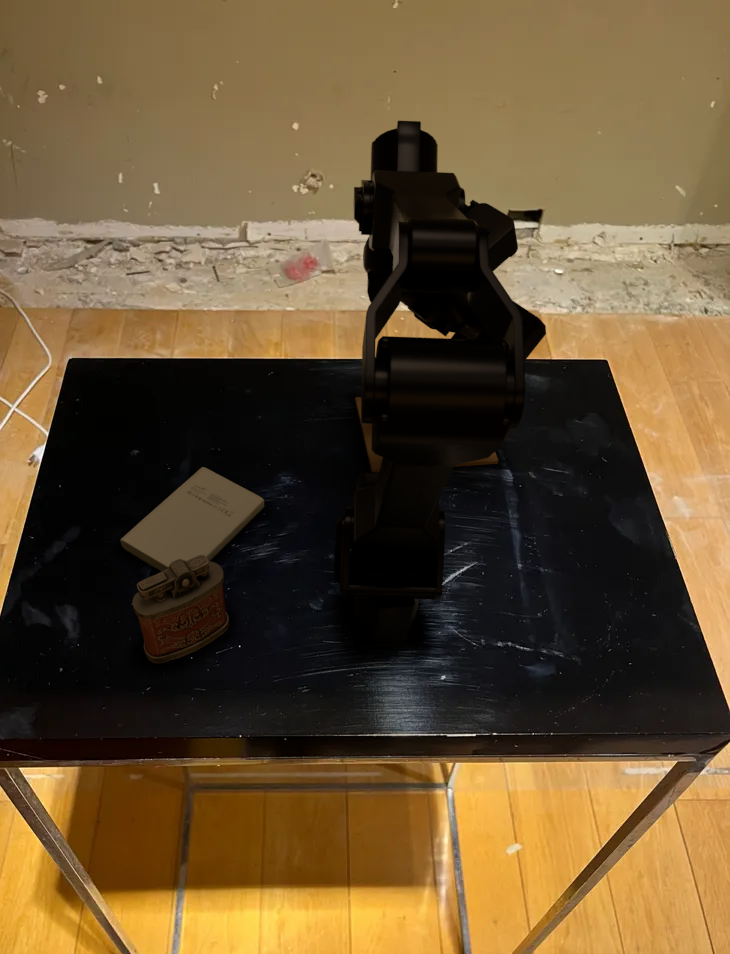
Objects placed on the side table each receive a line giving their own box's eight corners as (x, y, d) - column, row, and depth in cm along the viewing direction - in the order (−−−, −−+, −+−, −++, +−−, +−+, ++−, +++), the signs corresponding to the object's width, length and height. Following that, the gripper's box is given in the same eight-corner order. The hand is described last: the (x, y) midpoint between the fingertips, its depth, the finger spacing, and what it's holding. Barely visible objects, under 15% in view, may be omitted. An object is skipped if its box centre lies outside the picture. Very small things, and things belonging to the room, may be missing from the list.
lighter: (218, 605, 77) (209, 535, 69) (235, 630, 75) (228, 562, 68) (138, 643, 74) (120, 575, 66) (154, 671, 72) (138, 604, 65)
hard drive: (122, 549, 81) (203, 475, 88) (186, 587, 78) (264, 508, 85) (119, 538, 80) (201, 464, 87) (184, 577, 77) (264, 497, 84)
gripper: (558, 238, 65) (609, 313, 78) (405, 148, 75) (474, 228, 87) (468, 354, 68) (532, 408, 81) (332, 253, 77) (409, 316, 90)
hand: (486, 335), depth 85 cm, fingers closed
